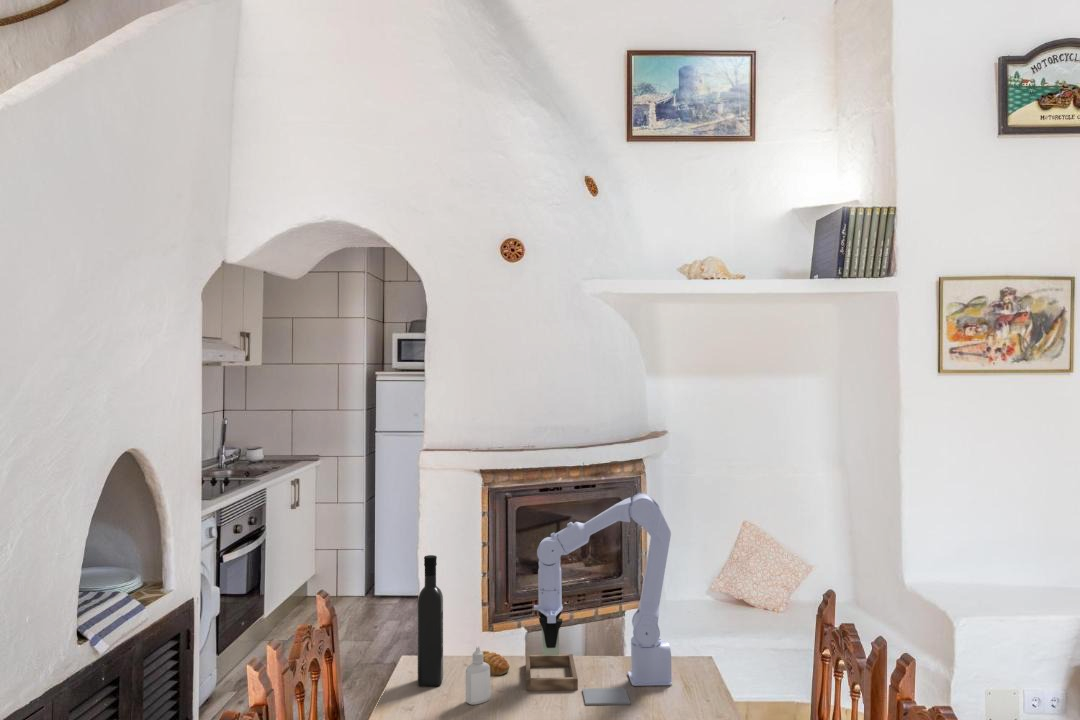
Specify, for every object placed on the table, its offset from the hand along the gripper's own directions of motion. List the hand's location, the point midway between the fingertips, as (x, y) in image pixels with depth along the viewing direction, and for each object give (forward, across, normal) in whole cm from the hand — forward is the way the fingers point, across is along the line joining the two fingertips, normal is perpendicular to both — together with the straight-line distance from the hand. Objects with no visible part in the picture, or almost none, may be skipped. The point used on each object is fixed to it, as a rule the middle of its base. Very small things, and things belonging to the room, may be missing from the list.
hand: (550, 644), depth 179 cm
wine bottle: (+8, +2, -29) cm, 30 cm away
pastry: (+8, -6, -14) cm, 18 cm away
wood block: (+2, 0, 0) cm, 2 cm away
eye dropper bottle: (+8, +13, -17) cm, 23 cm away
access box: (+8, 0, 0) cm, 8 cm away
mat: (+8, +12, +12) cm, 19 cm away
